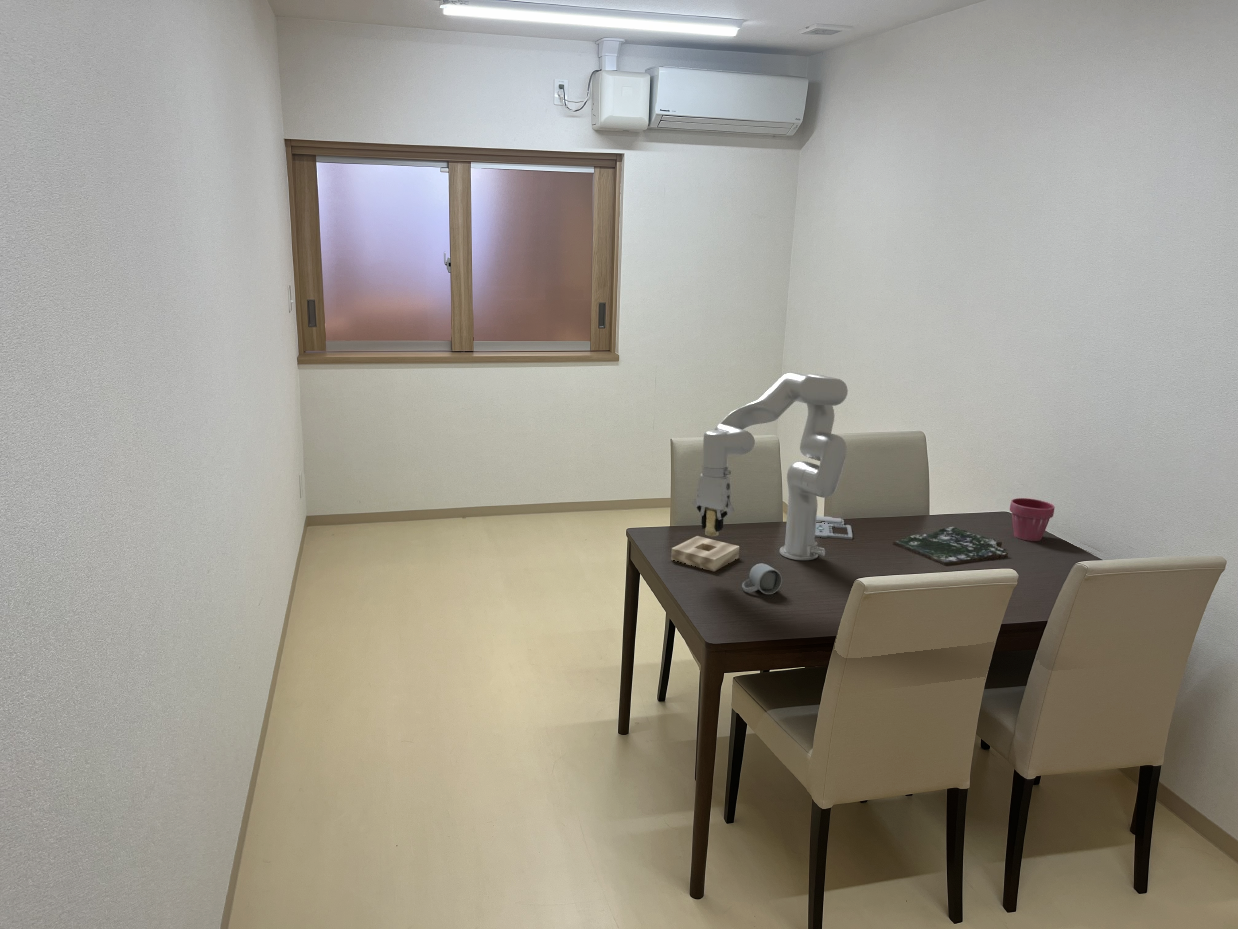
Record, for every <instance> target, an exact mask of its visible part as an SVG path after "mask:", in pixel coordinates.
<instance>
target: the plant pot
mask: <svg viewBox="0 0 1238 929" xmlns="http://www.w3.org/2000/svg"><path fill="white" fill-rule="evenodd" d="M1009 512H1010V513H1011V516H1012V517H1011V518H1012V528H1013V536H1014V537H1015V538H1017V539H1020V540H1023V541H1028V542H1038V541H1039V542H1040V541H1041V540H1042V538H1043V536H1044V534H1045V532H1046V530H1047V526H1048V524H1049V522H1050V519H1052V518H1053V517H1054V514H1055V506H1054V505H1053V504H1052V503H1050V502H1048V501H1044V500H1039V499H1036V498H1027V497H1026V498H1025V497H1018V498H1014V499H1011V501H1010V504H1009Z"/></svg>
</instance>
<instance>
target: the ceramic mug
mask: <svg viewBox="0 0 1238 929" xmlns="http://www.w3.org/2000/svg"><path fill="white" fill-rule="evenodd" d="M748 575H749V578H748V579H746V580H745V581H743V582H742V584H741V587H742V590H743V591H744V593H753V592H756V591H760V592H761V593H762V594H764V595H772V594H774V593H776V592H778V591H779V589H780V588H781V586H782V582H783V578H782V575H781V573H780V571H779V570H777V569H775V568H774V567H772V566H770V565H769V564H766V563H762V562H761V563H756V564H755V565H753V566H752V567H751V569H750V570H749V574H748ZM750 584H752V585H753V586H751V587H747V586H748V585H750Z"/></svg>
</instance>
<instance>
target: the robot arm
mask: <svg viewBox="0 0 1238 929" xmlns="http://www.w3.org/2000/svg"><path fill="white" fill-rule="evenodd" d="M848 392H849V390H848V386H847V384H846V383H845V382H844V381H843V379H840V378H836V377H831V376H826V375H822V374H818V373H817V374H816V373H808V374H802V373H798V372H797V373H796V372H787V373H785V374H782V375H781V376H780V377H779V378H778V379H777V380H776V381H775V382H774V383H773V384H772V385H771V386H770V387H769V388H768V389H767V390H765V392H764V393H763V394H761V396H760V397H758V398H757V399H756V400H755V401H753V402H749V403H747V404H745V405H743V406H741V407H738V408H737V409H735V410H733V411H731V412H730V413H728V414H727V415H726V416H725V417H724V418H723V419H722V420H721V421H719V423H718V424H717V425H716V427H715V428H714V429H713V430H712V429H711V430H707V431H705V432H704V434H703V443H702V444H703V445H702V466H701V474H700V475H699V477H698V478H699V479H698V482H697V490H696V496H695V498H694V500H693V501H692V505H693V506H694V508H696V510H697V511H698V512H699V514H700V516H701V521H700V522H701V529H705V527H706V509H707V508H712V509H717V517H718V519H716V527H715V531H716V532H718V533H719V532H720V531H722V530H723V528H724V518H725V517H727V516H728V515H730V514H732V513H733V512H735V509H734V507H733V505H732V499H733V498H732V483H731V478H730V475H731V474H732V471H731V470H729V467H728V461H729V460H728V459H729V455H737V456H738V455H739V456H741V455H745V454H748V453H750V452H751V451H752V450H753V448H754V447H755V443H756V442H755V438H754V435H753V434H752V433H751V432H750V431H748V430H746V428H748V427H750V426H755V425H762V424H768V423H771V422H775V421H777V420H778V419H779V418H780V417H781V416H782V415H783V414H784V413H785V412H786V411H787V410H788V409H789V408H790V407H791V406H792V405H793V404H794V403H796V402H799V403H803V404H805V405H806V406H807V416H806V417H807V418H806V422H805V424H804V425H805V426H804V429H803V431H802V435H801V440H800V443H799V444H800V445H799V450H800V453H801V455H803V456H804V457H807V458H808V459H812V460H815V461H818V462H819V464H815V463H813V462H810V461H805V460H800V461H799V460H798V461H795V462H793V463H792V464H791V465H790V466H789V467H788V470H787V473H786V481H787V492H788V494H787V495H788V500H787V501H788V502H787V514H786V525H785V526H786V528H785V539H784V545H782V546H781V547H780V548H779V554H780V555H781V556H783V557H785V558H787V559H791V560H795V561H811V560H812V561H813V560H815V559H817V558H818V557H819V556H821V557H824V556H825V555H826V550H825V548H824V547H820V546H818V542H817V541H815V539H816V537H815V529H816V518H817V516H818V498H823V499H825V498H829V497H831V496H832V495H834V494H835V492H836V491H837V488H838V486H839V483H840V480H841V477H842V473H843V469H844V466H845V462H846V458H847V453H848V448H847V447H848V446H847V442H846V441H845V439H844V438H843V437H842V436H840V435H838V434H835V433H832V431H833V426H834V422H835V409H834V407H836V406H838V405H841V404H842V403H843V402H845V401H846V399H847V396H848ZM817 497H818V498H817ZM725 509H726V510H725Z"/></svg>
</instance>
